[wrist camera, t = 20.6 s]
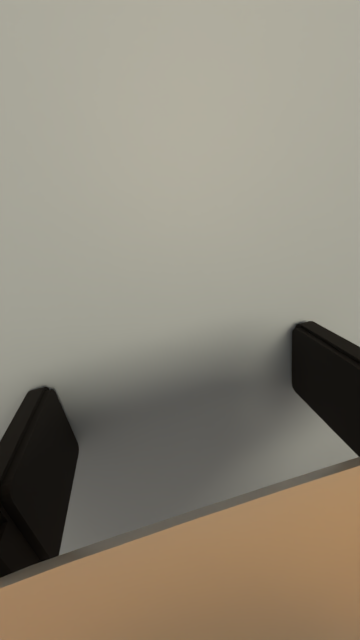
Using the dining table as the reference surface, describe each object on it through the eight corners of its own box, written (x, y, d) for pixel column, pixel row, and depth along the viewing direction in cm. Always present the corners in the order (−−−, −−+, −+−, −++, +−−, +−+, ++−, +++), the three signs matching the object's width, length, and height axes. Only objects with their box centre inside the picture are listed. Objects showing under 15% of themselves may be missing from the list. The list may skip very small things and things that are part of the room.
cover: (405, 438, 16) (425, 454, 15) (-37, 577, 13) (-52, 609, 12) (518, -11, 8) (577, -45, 7) (-509, 78, 5) (-670, 43, 4)
